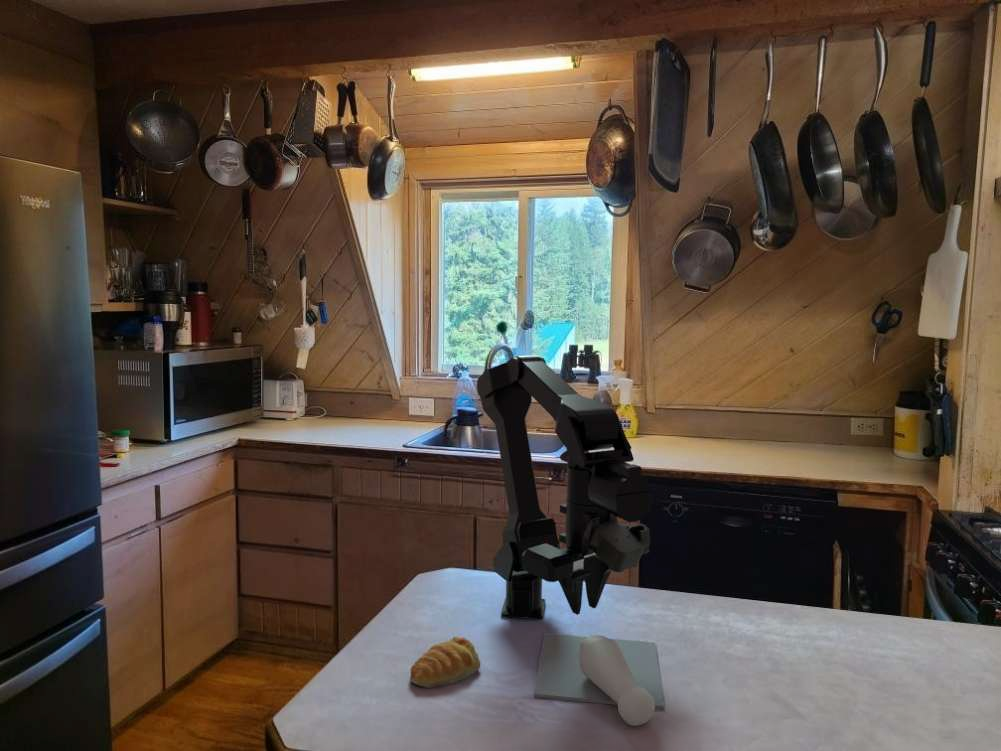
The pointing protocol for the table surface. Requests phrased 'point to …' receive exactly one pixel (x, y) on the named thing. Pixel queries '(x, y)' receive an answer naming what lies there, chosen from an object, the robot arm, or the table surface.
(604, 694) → the slate mat
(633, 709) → the salt shaker
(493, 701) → the table surface
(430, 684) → the pastry
